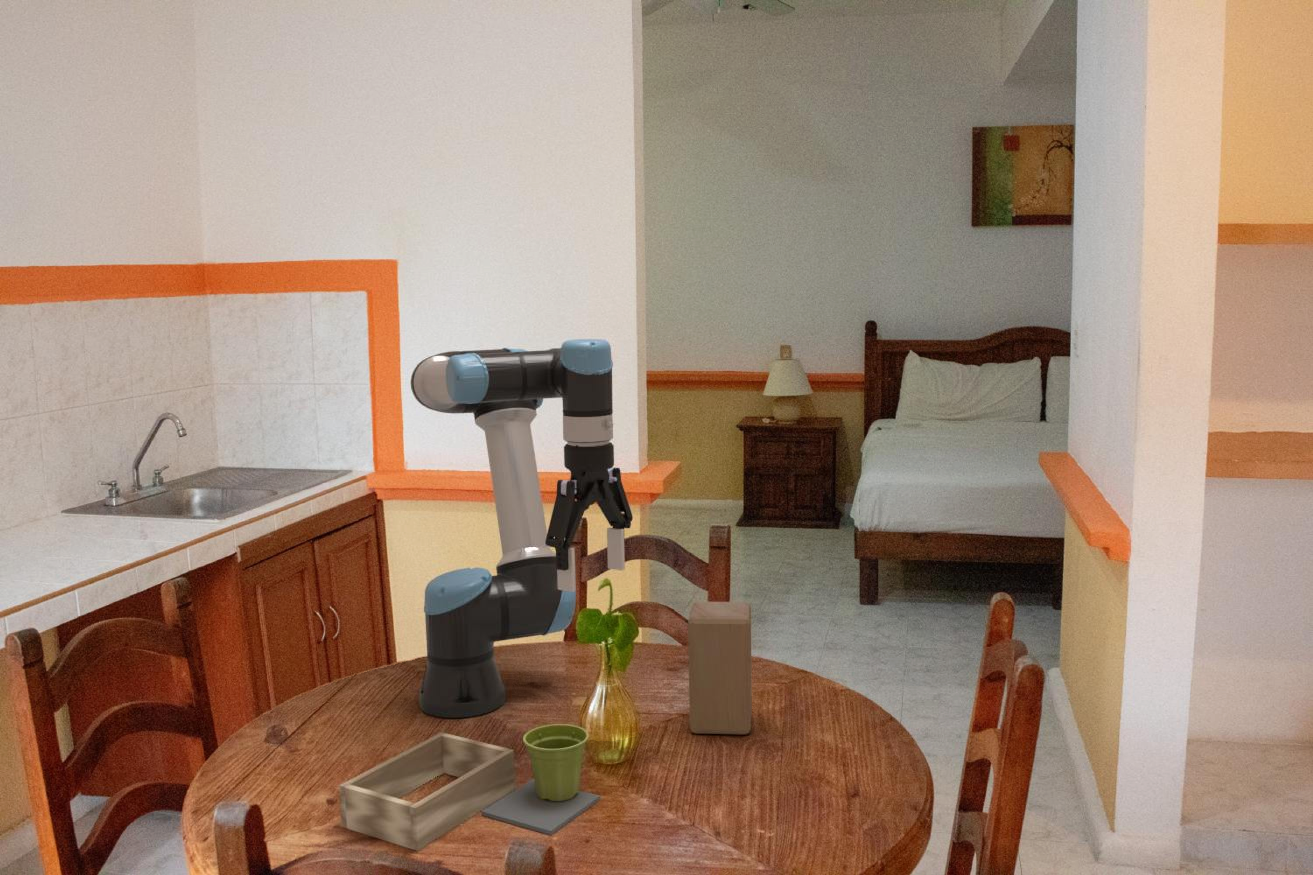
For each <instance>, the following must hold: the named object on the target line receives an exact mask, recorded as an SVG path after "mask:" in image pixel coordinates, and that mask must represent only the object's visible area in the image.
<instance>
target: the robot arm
mask: <svg viewBox="0 0 1313 875" xmlns="http://www.w3.org/2000/svg"><path fill="white" fill-rule="evenodd" d="M613 367H614V362H613V358H612V349H611V345H610V343H609V342H608V341H607V340H606V339H601V338H599V339H597V338H583V339H582V338H579V339H578V338H577V339H567V340H565V341H564V342H563V343H561V346H560V347H559V348H557V347H556V348H555V347H553V348H550V349H546V350H544V349H543V350H526V349H522V348H509V347H502V348H501V349H500V348H499V349H498V348H497V349H496V348H495V349H480V350H479V349H477V350H453V351H446V352H440V353H437V354H434V355H431V356H428V357H426V358H424V359H422V360H421V361H420V362H419V363H417V365H416V366H415V367H414V370H413V371H412V374H411V377H410V390H411V392H412V394H413V396H414V399H415V400H416V401H417V402H418V403H419V404H420V405H422V406H423V407H424V408H426V409H429V410H432V411H435V412H439V413H444V414H452V415H453V414H473V417H474V424H475V425H476V426H477V427H479V428H480V429H481V430H482V431H483V432H484V435H485V441H486V449H487V455H488V463H489V469H490V476H491V477H490V478H491V483H492V484H491V485H492V489H493V490H492V491H493V497H494V498H493V499H494V504H495V511H496V517H497V523H498V524H497V525H498V526H497V527H498V532H499V537H500V538H499V539H500V545H501V546H500V547H501V552H502V553H501V554H502V557H501V559H500V560H499V561H498V563H497V564H496V566H495V569H496V570H495V571H496V575H492V574H491V571H489V570H488V569H487V568H484V567H473V568H470V567H465V568H459V569H454V570H451V571H447V572H445V573H443V574H440V575H438V576H436V577H435V578H433V579H431V580H430V581H429V582H428V584H426V586H425V588H424V589H425V590H424V603H423V604H424V606H423V612H424V616H425V618H424V620H425V637H426V655H427V659H426V660H427V661H426V662H427V664H426V668H425V671H424V674H423V678H422V682H421V688H420V690H419V693H418V701H419V709H420V710H421V711H422V710H423V711H424V712H423V711H422V712H423V713H425V714H428V715H430V716H433V717H438V718H445V719H446V718H447V719H448V718H449V719H456V718H457V719H459V718H471V717H476V716H480V715H484V713H485V714H487V713H490V712H492V711H495V710H497V709H499V708H500V707H502V706H503V705H504V704H505V702H506V686H505V684H504V682H503V681H502V677H501V675H500V672H499V669H498V666H497V661H496V660H495V654H494V653H495V652H494V645H495V644H494V643H496V642H500V641H501V642H502V641H503V642H504V641H508V640H515V639H516V640H517V639H522V638H530V637H536V636H543V637H544V636H547V635H548V634H555V633H557V632H559V633H560V632H563V631H564V630H566V629H567V628H568V627H569V625H571V622H572V620H573V618H574V615H575V614H574V613H575V609H576V599H577V596H576V595H577V589H576V584H577V583H576V557H575V556H576V555H575V553H576V552H575V547H572V544H573V542H574V538H575V536H576V533H577V532H578V528H579V526H580V523H581V521H582V519H583V516H584V513H585V511H587V510H588V509H590V506H592V505H594V504H597V506H598V507H599V510H600V511H601V512H602V514H603V515H604V517H605V519H606V521H607V522H608V524H609V526H610V527H607V528H606V542H607V543H606V546H607V548H606V549H607V569H608V570H617V571H624V570H626V569H625V568H626V567H625V566H626V565H625V564H626V563H625V562H626V560H625V543H626V542H625V529H630V528H631V526H632V525H631V524H632V521H633V513H632V510H631V507H630V504H629V501H628V498H627V493H626V491H625V489H624V485H623V482H622V475H621V474H622V472H621V469H620V467H614V466H615V452H614V451H615V449H614V446H615V445H614V444H613V443H612V442H610V441H612V440H613V439H614V422H613V414H614V413H613V412H614V410H613V409H614V408H613ZM558 398H559V399H560V398H561V399H562V439H563V440H564V441H565V442H567V443H566V444H565V445H564V446H563V457H564V458H563V459H564V462H563V464H564V468H566V470H568V471H569V472H570V478H569V480H566V479H564V480H563V479H558V480H557V482H556V496H555V500H554V505H553V507H552V508H553V509H552V513H551V517H550V521H549V526H548V528H547V525H546V524H547V523H546V517H545V511H544V505H543V504H544V503H543V499H542V498H543V497H542V491H541V486H540V479H539V473H538V467H537V466H538V465H537V460H536V453H535V447H534V441H533V435H532V428H531V425H532V422H533V421H534V420H535V418H536V417H537V415H538V414H537V409H539V408H541V406H542V404H543V402H544V399H545V400H546V399H558ZM551 548H554V549H555V551H553V550H552V549H551Z"/></svg>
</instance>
